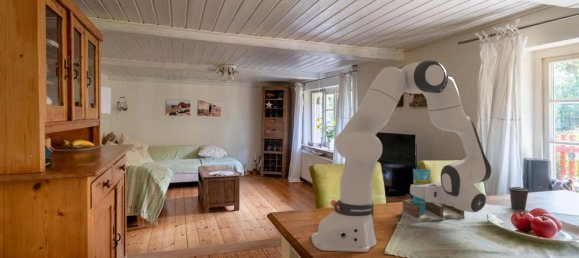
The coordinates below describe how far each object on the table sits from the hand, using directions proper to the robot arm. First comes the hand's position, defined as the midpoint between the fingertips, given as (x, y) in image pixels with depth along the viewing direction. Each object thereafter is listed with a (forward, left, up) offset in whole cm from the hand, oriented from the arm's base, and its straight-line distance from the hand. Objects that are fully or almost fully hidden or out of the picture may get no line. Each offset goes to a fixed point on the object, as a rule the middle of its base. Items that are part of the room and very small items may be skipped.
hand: (421, 185), depth 141 cm
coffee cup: (+52, +5, -14) cm, 54 cm away
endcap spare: (+11, +1, -13) cm, 17 cm away
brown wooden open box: (0, -1, -13) cm, 13 cm away
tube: (-2, -1, -12) cm, 12 cm away
